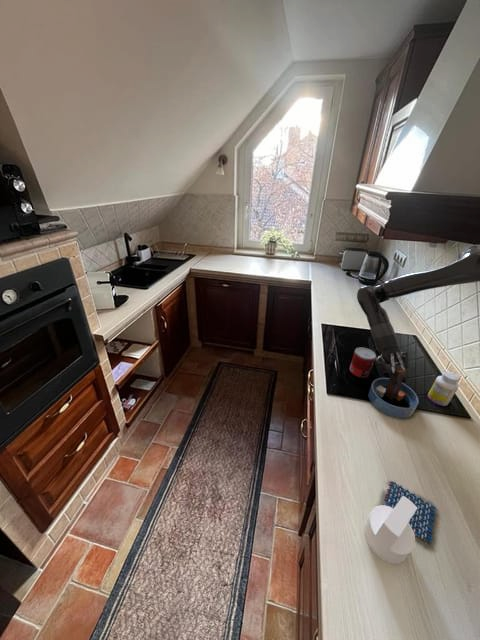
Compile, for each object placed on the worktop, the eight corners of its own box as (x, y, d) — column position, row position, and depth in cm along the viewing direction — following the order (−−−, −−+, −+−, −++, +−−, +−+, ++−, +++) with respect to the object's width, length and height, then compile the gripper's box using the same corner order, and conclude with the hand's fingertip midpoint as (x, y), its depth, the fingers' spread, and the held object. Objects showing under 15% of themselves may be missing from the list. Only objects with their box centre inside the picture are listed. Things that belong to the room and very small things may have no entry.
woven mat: (388, 481, 70) (390, 477, 69) (433, 509, 64) (436, 505, 63) (378, 514, 63) (380, 510, 62) (428, 549, 57) (431, 546, 56)
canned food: (363, 382, 104) (371, 361, 98) (345, 372, 109) (351, 351, 104) (371, 374, 108) (379, 353, 103) (353, 364, 114) (360, 344, 108)
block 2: (403, 399, 96) (406, 393, 94) (398, 402, 94) (401, 396, 93) (395, 394, 98) (398, 388, 96) (390, 396, 97) (393, 391, 95)
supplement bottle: (438, 394, 99) (453, 368, 93) (451, 407, 94) (468, 381, 87) (422, 394, 99) (435, 369, 92) (434, 408, 93) (449, 382, 87)
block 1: (385, 395, 97) (387, 389, 96) (381, 398, 96) (383, 393, 94) (377, 390, 99) (380, 385, 98) (373, 393, 98) (375, 388, 96)
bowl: (411, 396, 98) (416, 386, 95) (414, 426, 86) (420, 415, 83) (368, 383, 104) (372, 373, 101) (366, 409, 92) (370, 398, 89)
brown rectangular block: (390, 392, 96) (398, 366, 91) (397, 397, 94) (406, 371, 89) (384, 394, 95) (392, 367, 90) (390, 399, 93) (399, 372, 88)
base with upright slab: (374, 508, 64) (389, 483, 58) (412, 545, 58) (433, 520, 52) (354, 534, 60) (369, 509, 54) (393, 577, 53) (414, 554, 47)
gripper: (376, 336, 89) (393, 386, 84) (406, 330, 93) (424, 378, 88) (361, 341, 96) (376, 387, 91) (390, 335, 100) (406, 379, 95)
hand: (400, 382), depth 90 cm, fingers closed on brown rectangular block, 3 cm apart
